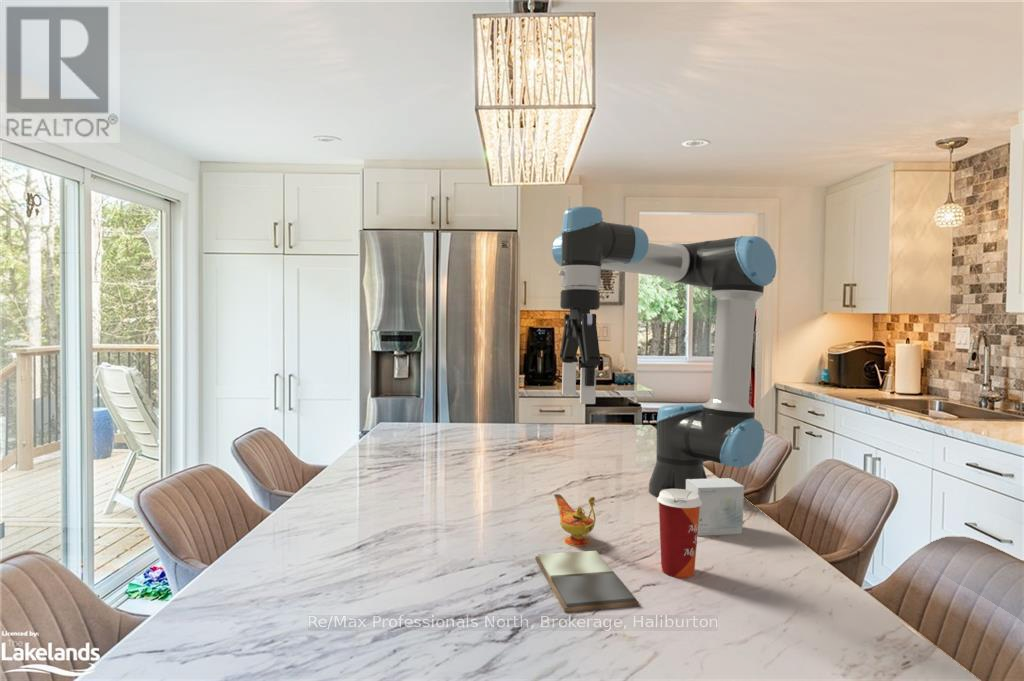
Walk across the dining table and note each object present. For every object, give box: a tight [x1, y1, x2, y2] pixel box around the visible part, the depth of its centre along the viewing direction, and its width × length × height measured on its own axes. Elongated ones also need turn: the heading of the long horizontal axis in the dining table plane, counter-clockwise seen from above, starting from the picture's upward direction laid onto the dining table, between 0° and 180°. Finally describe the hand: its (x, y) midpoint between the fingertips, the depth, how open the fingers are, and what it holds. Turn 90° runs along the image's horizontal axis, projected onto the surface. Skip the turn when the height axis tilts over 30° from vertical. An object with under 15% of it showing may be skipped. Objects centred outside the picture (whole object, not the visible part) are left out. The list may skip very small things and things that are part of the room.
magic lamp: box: [553, 493, 596, 547], centre depth 121 cm, size 7×18×11 cm, turn 20°
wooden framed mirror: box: [535, 550, 640, 613], centre depth 102 cm, size 12×20×1 cm, turn 11°
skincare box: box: [686, 477, 745, 537], centre depth 127 cm, size 10×6×10 cm, turn 99°
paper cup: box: [656, 489, 702, 579], centre depth 106 cm, size 8×8×14 cm
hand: (577, 399), depth 115 cm, fingers open, 13 cm apart
